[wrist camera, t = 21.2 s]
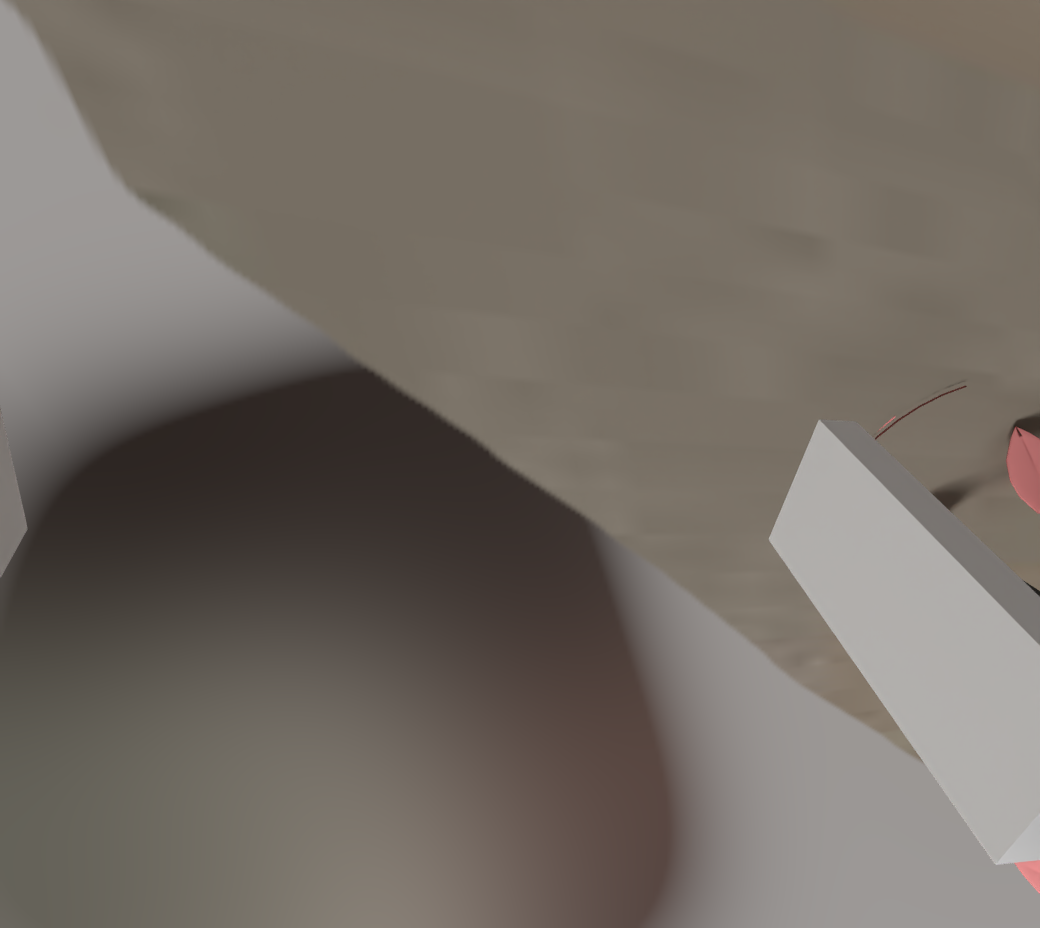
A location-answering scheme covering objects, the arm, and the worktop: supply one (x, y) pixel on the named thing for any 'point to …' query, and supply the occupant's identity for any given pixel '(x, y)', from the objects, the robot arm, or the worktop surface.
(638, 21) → the worktop surface
